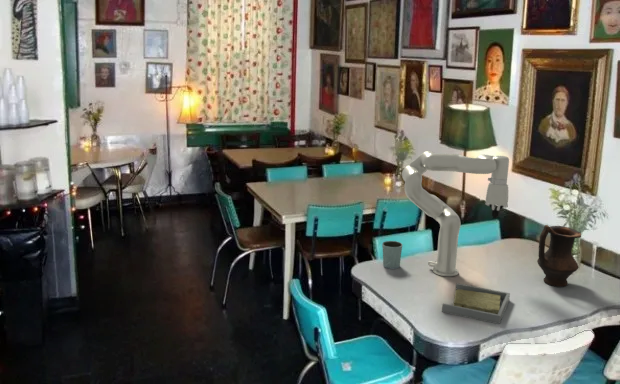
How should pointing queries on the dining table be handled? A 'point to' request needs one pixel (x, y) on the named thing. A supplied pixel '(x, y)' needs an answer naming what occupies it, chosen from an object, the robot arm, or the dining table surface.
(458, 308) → the box
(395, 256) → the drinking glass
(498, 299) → the decorative tile
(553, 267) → the jug
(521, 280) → the dining table surface
